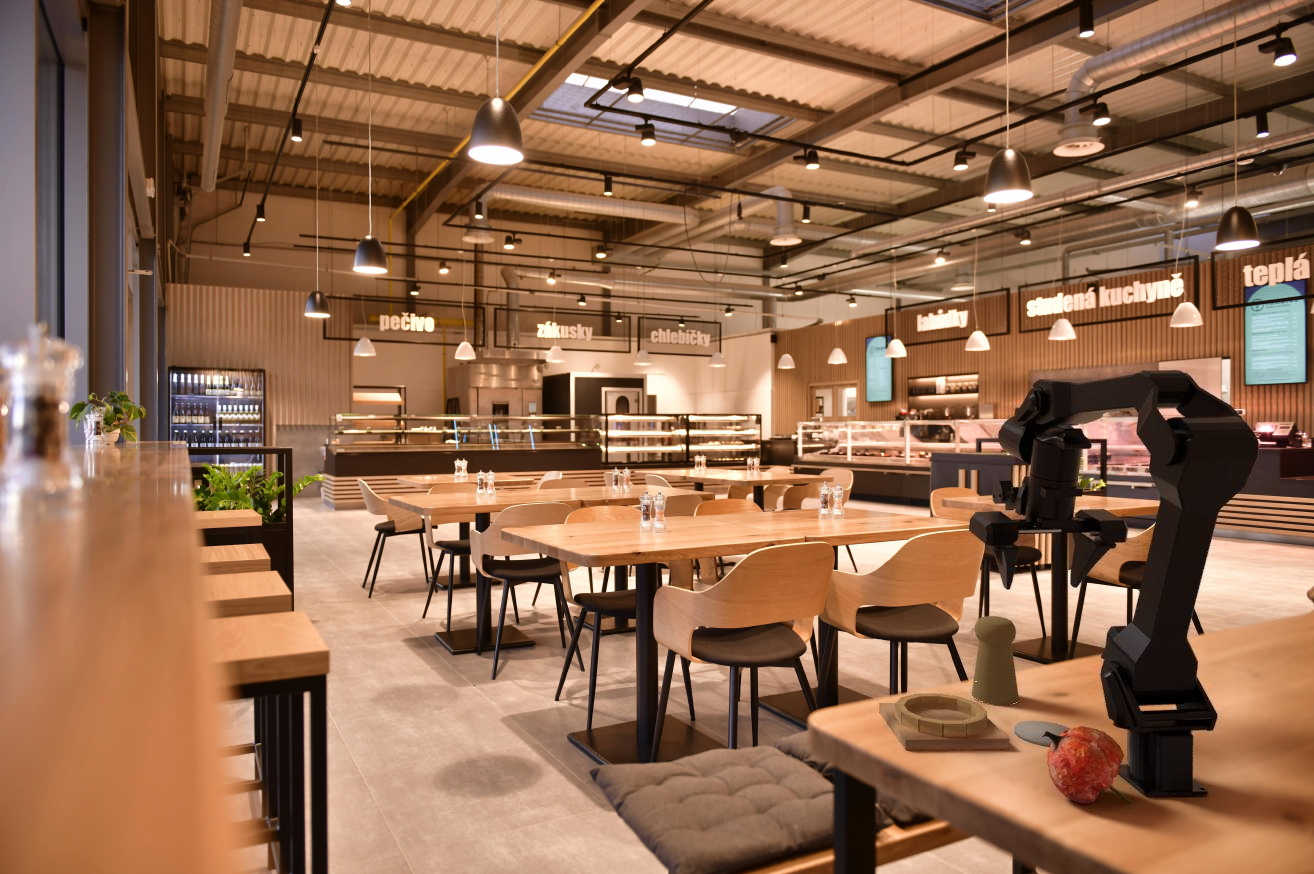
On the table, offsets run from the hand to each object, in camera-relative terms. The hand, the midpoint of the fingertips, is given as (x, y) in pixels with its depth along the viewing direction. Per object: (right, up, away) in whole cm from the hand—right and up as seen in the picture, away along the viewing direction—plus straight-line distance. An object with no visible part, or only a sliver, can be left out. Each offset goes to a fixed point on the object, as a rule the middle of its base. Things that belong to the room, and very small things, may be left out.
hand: (1040, 587), depth 111 cm
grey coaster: (-4, -16, -10) cm, 19 cm away
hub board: (-16, -16, -8) cm, 24 cm away
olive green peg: (-5, -16, +3) cm, 17 cm away
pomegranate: (-7, -17, -26) cm, 32 cm away
